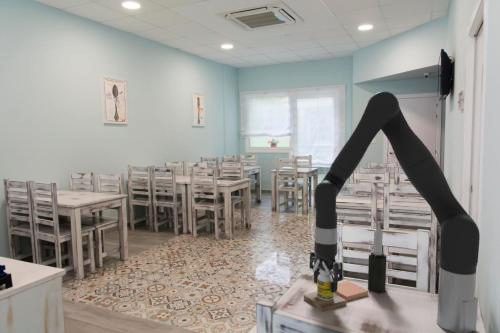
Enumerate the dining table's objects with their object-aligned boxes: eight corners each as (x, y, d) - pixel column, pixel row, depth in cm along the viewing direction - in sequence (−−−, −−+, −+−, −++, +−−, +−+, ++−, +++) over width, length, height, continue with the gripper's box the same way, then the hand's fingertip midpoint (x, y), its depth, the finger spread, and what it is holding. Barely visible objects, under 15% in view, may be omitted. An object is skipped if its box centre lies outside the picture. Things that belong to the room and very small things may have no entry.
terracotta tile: (368, 294, 127) (368, 290, 127) (346, 300, 122) (346, 296, 122) (348, 284, 136) (348, 280, 136) (327, 289, 131) (327, 285, 131)
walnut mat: (346, 304, 120) (346, 300, 119) (322, 311, 115) (322, 306, 115) (326, 293, 128) (326, 288, 128) (303, 298, 124) (303, 294, 124)
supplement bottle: (315, 299, 120) (315, 270, 119) (319, 292, 125) (320, 265, 124) (331, 302, 118) (331, 273, 117) (335, 296, 122) (335, 268, 122)
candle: (366, 289, 131) (368, 222, 129) (373, 285, 135) (375, 220, 133) (379, 294, 127) (382, 224, 125) (386, 290, 131) (388, 222, 129)
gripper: (349, 244, 115) (348, 293, 117) (321, 233, 128) (320, 277, 129) (331, 247, 112) (330, 297, 113) (303, 236, 124) (303, 281, 126)
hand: (324, 287), depth 121 cm, fingers open, 8 cm apart
